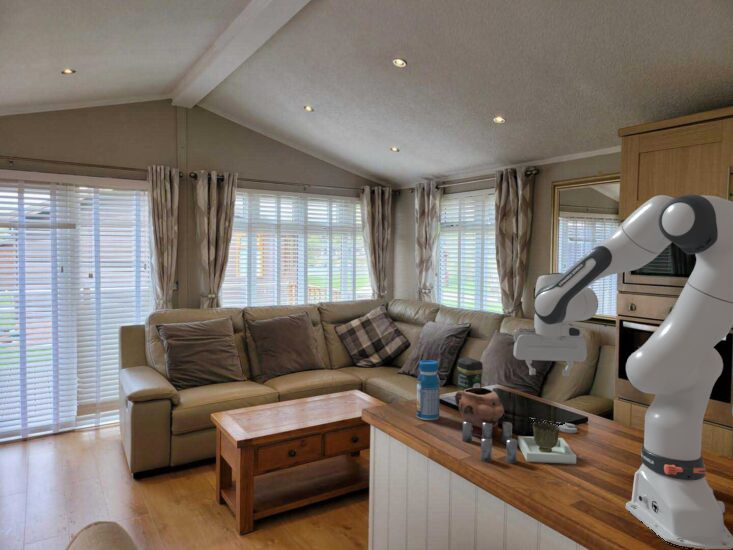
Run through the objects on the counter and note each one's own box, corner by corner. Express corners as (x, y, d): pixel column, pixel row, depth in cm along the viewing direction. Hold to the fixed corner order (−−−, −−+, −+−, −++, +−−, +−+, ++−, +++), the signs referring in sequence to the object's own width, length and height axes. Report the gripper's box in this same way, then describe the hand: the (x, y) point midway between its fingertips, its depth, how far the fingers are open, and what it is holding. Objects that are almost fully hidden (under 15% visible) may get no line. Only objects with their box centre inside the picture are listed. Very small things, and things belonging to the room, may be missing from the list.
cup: (560, 458, 143) (561, 430, 143) (533, 455, 145) (534, 428, 144) (556, 448, 150) (557, 421, 150) (530, 446, 152) (531, 420, 152)
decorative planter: (441, 427, 169) (442, 386, 168) (464, 419, 177) (465, 380, 176) (491, 444, 154) (492, 400, 153) (514, 435, 162) (515, 393, 161)
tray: (576, 464, 140) (576, 455, 140) (526, 461, 142) (527, 453, 142) (562, 445, 154) (562, 438, 153) (517, 443, 155) (517, 435, 155)
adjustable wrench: (501, 419, 180) (501, 414, 180) (509, 414, 185) (509, 410, 185) (573, 435, 164) (573, 429, 164) (580, 430, 169) (580, 424, 168)
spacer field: (521, 463, 140) (522, 442, 140) (467, 460, 142) (467, 440, 141) (510, 441, 157) (511, 422, 157) (462, 438, 159) (462, 420, 158)
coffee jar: (453, 404, 195) (454, 356, 194) (469, 401, 198) (470, 355, 197) (468, 411, 186) (469, 361, 185) (485, 408, 190) (486, 360, 189)
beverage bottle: (429, 422, 173) (430, 365, 172) (411, 416, 179) (411, 361, 178) (444, 417, 179) (445, 362, 178) (426, 411, 185) (427, 358, 184)
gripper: (515, 329, 144) (514, 376, 145) (589, 330, 142) (588, 379, 143) (511, 326, 150) (510, 371, 151) (582, 327, 148) (581, 373, 149)
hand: (548, 375), depth 147 cm, fingers open, 8 cm apart
